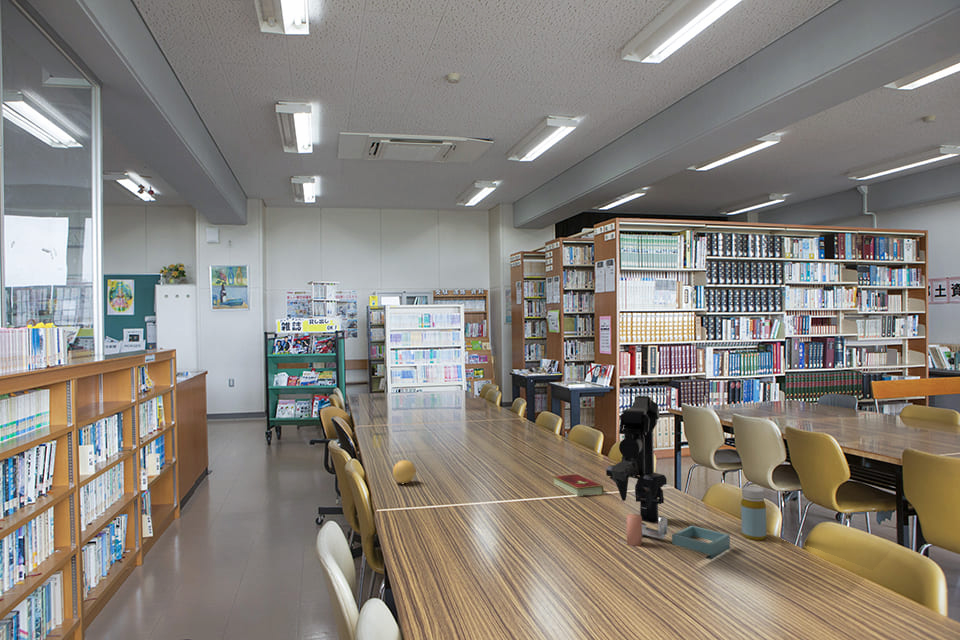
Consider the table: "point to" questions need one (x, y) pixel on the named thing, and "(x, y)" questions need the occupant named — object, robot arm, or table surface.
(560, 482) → the hardcover book
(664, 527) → the crank
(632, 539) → the pin
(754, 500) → the bottle
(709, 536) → the tray
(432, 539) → the table surface
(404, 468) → the stress ball
